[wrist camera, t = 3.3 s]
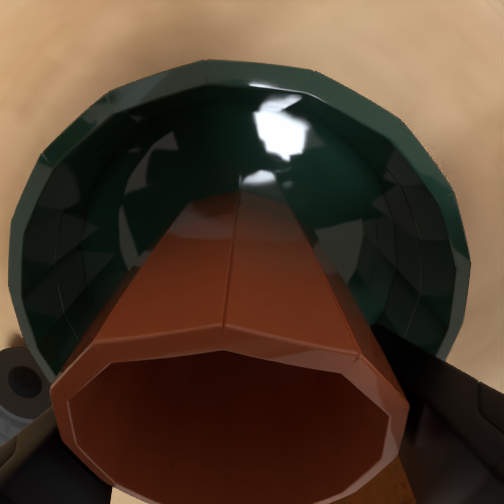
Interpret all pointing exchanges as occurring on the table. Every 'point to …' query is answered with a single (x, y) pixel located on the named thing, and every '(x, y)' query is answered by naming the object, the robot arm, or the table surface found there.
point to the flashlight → (20, 391)
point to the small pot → (231, 368)
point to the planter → (231, 179)
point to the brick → (383, 488)
